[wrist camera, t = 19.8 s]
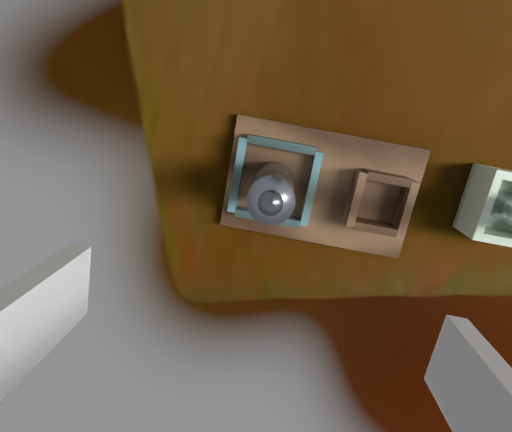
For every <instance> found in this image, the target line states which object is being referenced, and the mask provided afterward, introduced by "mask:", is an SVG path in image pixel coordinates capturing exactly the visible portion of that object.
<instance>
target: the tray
mask: <svg viewBox="0 0 512 432" xmlns="http://www.w3.org/2000/svg"><path fill="white" fill-rule="evenodd" d="M500 188H503V189H507V190H510V191H512V170H508V169H503V168H497V167H492V166H487V165H481V164H476V163H473V165H472V168H471V171H470V174H469V177H468V180H467V183H466V186H465V189H464V192H463V195H462V198H461V201H460V204H459V207H458V210H457V213H456V216H455V219H454V222H453V225H452V226H453V227H454V228H456V229H457V230H459V231H460V232H462V233H463V234H465V235H466V236H467V237H469V238H470V239H472V240H476V241H481V242H487V243H492V244H497V245H503V246H508V247H512V227H511V226H509V225H507V224H505V223H502V222H500V221H498V220H495V219H493V218H491V217H489V216H490V213H491V211H492V208H493V205H494V202H495V200H496V197H497V194H498V191H499V189H500Z"/></svg>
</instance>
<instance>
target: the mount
mask: <svg viewBox="0 0 512 432" xmlns="http://www.w3.org/2000/svg"><path fill="white" fill-rule="evenodd" d="M430 152H431V150H427V149H422V148H417V147H411V146H406V145H401V144H395V143H390V142H384V141H379V140H374V139H368V138H363V137H358V136H352V135H347V134H341V133H336V132H331V131H325V130H320V129H314V128H309V127H304V126H298V125H293V124H288V123H282V122H277V121H271V120H266V119H261V118H255V117H250V116H244V115H239V114H237V121H236V127H235V133H234V140H233V146H232V152H231V158H230V165H229V171H228V177H227V183H226V190H225V196H224V202H223V209H222V215H221V221H220V225H224V226H229V227H234V228H240V229H245V230H250V231H255V232H261V233H266V234H271V235H276V236H282V237H287V238H292V239H298V240H303V241H308V242H313V243H319V244H324V245H329V246H334V247H340V248H345V249H350V250H355V251H361V252H366V253H371V254H376V255H382V256H387V257H392V258H397V259H398V258H399V254H400V251H401V248H402V244H403V241H404V238H405V234H406V231H407V228H408V224H409V221H410V218H411V214H412V211H413V208H414V205H415V201H416V198H417V195H418V191H419V188H420V185H421V181H422V178H423V175H424V171H425V168H426V165H427V162H428V158H429V155H430ZM268 162H280V163H282V164H284V165H285V166H287V167H288V169H289V170H290V172H291V174H292V178H293V186H294V193H295V208H294V211H293V213H292V215H291V216H290V217H289V218H288V219H287V220H286V221H284V222H283V223H280V224H277V225H264V224H261V223H259V222H257V221H256V220H255V219H254V218H253V217H252V216H251V215H250V213H249V211H248V209H247V205H246V197H247V194H248V191H249V189H250V187H251V184H252V182H253V180H254V177H255V175H256V173H257V171H258V169H259V168H260V167H261V166H262V165H264V164H266V163H268Z"/></svg>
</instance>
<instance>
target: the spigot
mask: <svg viewBox="0 0 512 432" xmlns="http://www.w3.org/2000/svg"><path fill="white" fill-rule="evenodd" d="M246 205H247V209H248V211H249V213H250V215H251V216H252V217H253V218H254V219H255V220H256V221H257V222H259V223H261V224H264V225H277V224H280V223H283V222H284V221H286V220H287V219H288V218H289V217H290V216H291V215H292V213H293V211H294V208H295V193H294V186H293V178H292V174H291V172H290V170H289V169H288V167H287V166H285V165H284V164H282V163H280V162H268V163H266V164H264V165H262V166H261V167H260V168H259V169H258V171H257V173H256V175H255V177H254V180H253V182H252V184H251V187H250V189H249V191H248V194H247V197H246Z"/></svg>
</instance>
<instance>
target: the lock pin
mask: <svg viewBox="0 0 512 432" xmlns="http://www.w3.org/2000/svg"><path fill="white" fill-rule="evenodd" d="M489 217H491V218H493V219H495V220H498V221H500V222H502V223H505V224H507V225H509V226H511V227H512V191H510V190H507V189H503V188H500V189H499V191H498V194H497V197H496V200H495V202H494V205H493V208H492V211H491V213H490V216H489Z"/></svg>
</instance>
